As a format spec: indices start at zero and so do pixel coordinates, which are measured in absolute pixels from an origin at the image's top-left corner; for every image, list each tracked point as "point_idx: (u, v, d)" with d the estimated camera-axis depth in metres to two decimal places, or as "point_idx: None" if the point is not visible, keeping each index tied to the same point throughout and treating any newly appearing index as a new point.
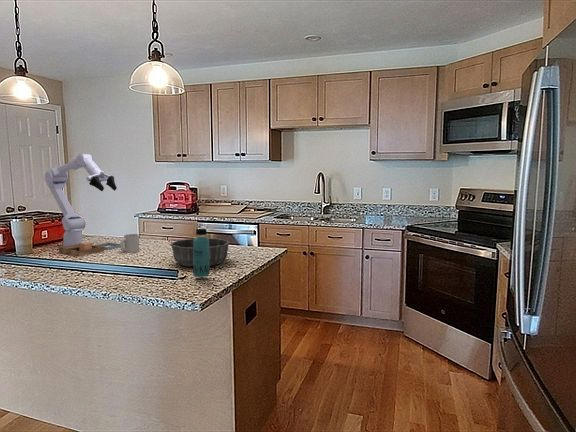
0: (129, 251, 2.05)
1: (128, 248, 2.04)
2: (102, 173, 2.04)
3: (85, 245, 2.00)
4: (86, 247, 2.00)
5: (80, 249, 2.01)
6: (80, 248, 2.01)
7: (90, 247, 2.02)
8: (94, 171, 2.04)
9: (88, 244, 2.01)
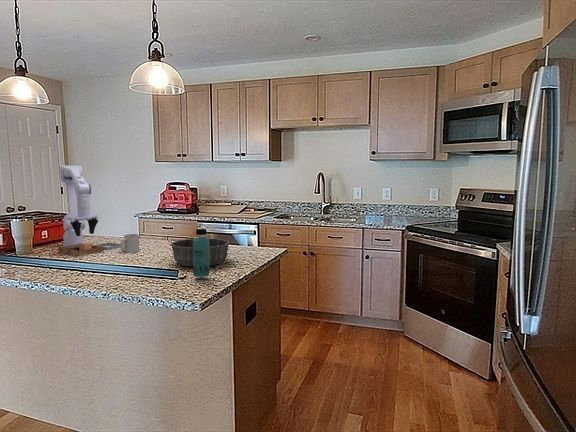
0: (129, 251, 2.05)
1: (128, 248, 2.04)
2: (88, 218, 1.99)
3: (85, 245, 2.00)
4: (86, 247, 2.00)
5: (80, 249, 2.01)
6: (80, 248, 2.01)
7: (90, 247, 2.02)
8: (82, 212, 1.97)
9: (88, 244, 2.01)
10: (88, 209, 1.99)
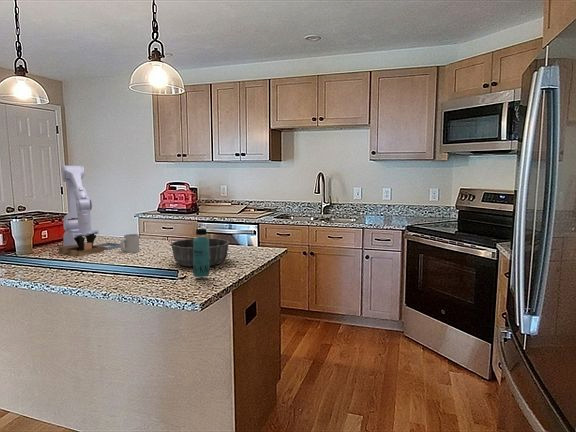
0: (129, 251, 2.05)
1: (128, 248, 2.04)
2: (89, 233, 2.00)
3: (85, 245, 2.00)
4: (86, 247, 2.00)
5: None
6: None
7: (90, 247, 2.02)
8: (83, 228, 1.98)
9: (88, 244, 2.01)
10: (89, 225, 2.00)
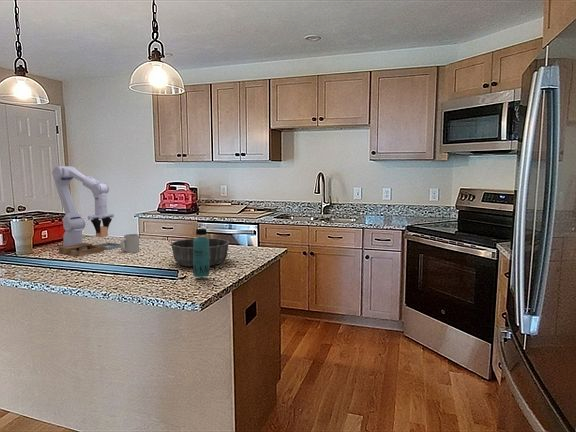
0: (129, 251, 2.05)
1: (128, 248, 2.04)
2: (105, 216, 2.09)
3: (101, 229, 2.09)
4: (102, 231, 2.10)
5: None
6: None
7: (106, 231, 2.12)
8: (99, 211, 2.08)
9: (104, 228, 2.11)
10: (105, 208, 2.09)
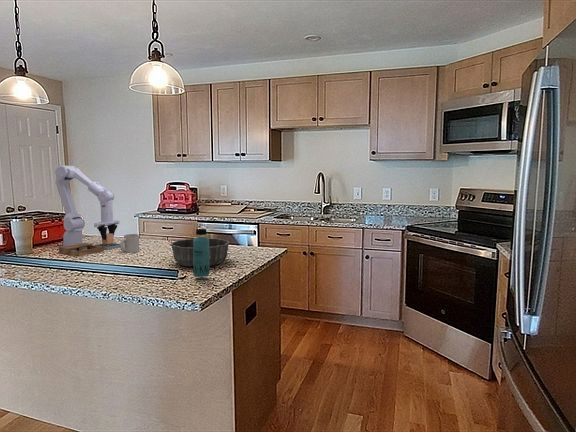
0: (129, 251, 2.05)
1: (128, 248, 2.04)
2: (111, 223, 2.14)
3: (107, 236, 2.14)
4: (108, 237, 2.14)
5: None
6: None
7: (112, 238, 2.16)
8: (105, 218, 2.12)
9: (110, 235, 2.15)
10: (111, 215, 2.14)
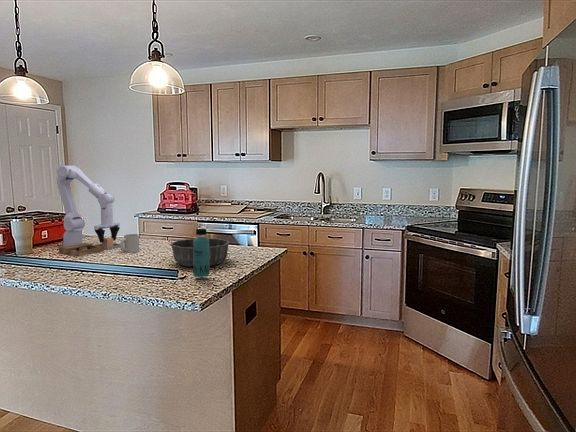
0: (129, 251, 2.05)
1: (128, 248, 2.04)
2: (111, 226, 2.14)
3: (107, 240, 2.14)
4: (108, 242, 2.14)
5: (103, 244, 2.15)
6: (103, 243, 2.15)
7: (112, 242, 2.16)
8: (105, 220, 2.12)
9: (110, 239, 2.15)
10: (111, 217, 2.14)
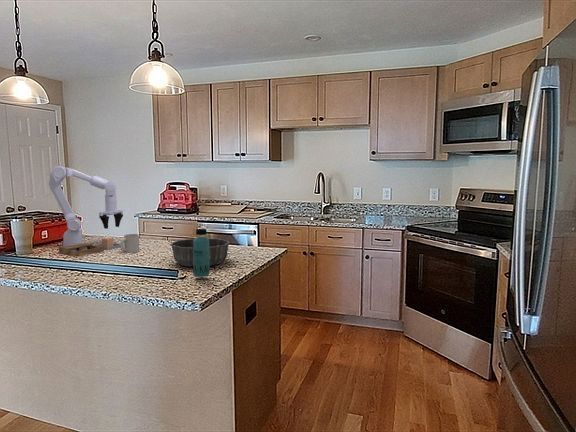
0: (129, 251, 2.05)
1: (128, 248, 2.04)
2: (115, 212, 2.23)
3: (107, 240, 2.14)
4: (108, 242, 2.14)
5: (103, 244, 2.15)
6: (103, 243, 2.15)
7: (112, 242, 2.16)
8: (110, 207, 2.21)
9: (110, 239, 2.15)
10: (115, 204, 2.23)
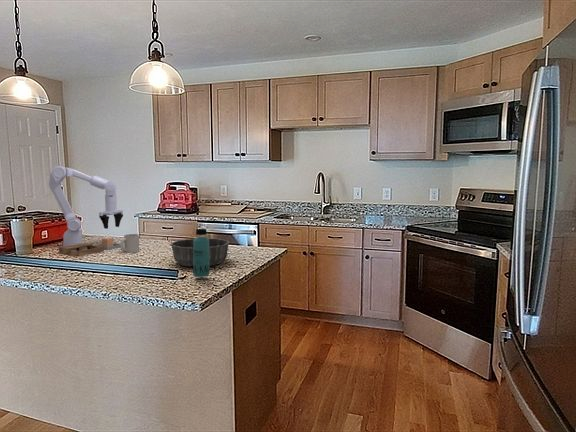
0: (129, 251, 2.05)
1: (128, 248, 2.04)
2: (115, 212, 2.23)
3: (107, 240, 2.14)
4: (108, 242, 2.14)
5: (103, 244, 2.15)
6: (103, 243, 2.15)
7: (112, 242, 2.16)
8: (110, 207, 2.21)
9: (110, 239, 2.15)
10: (115, 204, 2.23)
